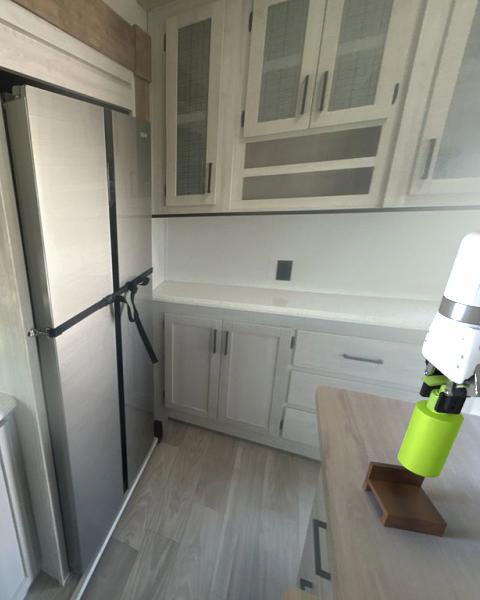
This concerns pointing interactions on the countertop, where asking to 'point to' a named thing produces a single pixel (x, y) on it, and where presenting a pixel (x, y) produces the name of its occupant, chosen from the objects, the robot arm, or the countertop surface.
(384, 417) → the countertop surface
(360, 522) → the countertop surface
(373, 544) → the countertop surface
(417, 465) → the soap dispenser
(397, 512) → the walnut shelf
